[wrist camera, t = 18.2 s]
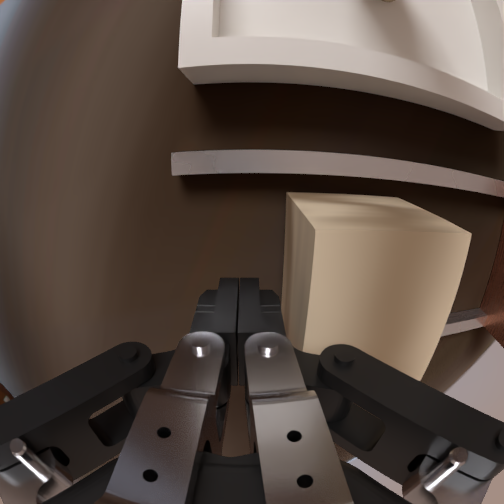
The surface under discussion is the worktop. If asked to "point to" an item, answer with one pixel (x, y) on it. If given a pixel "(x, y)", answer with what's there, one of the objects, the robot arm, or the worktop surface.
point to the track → (328, 163)
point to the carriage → (369, 276)
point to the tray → (355, 48)
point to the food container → (4, 395)
